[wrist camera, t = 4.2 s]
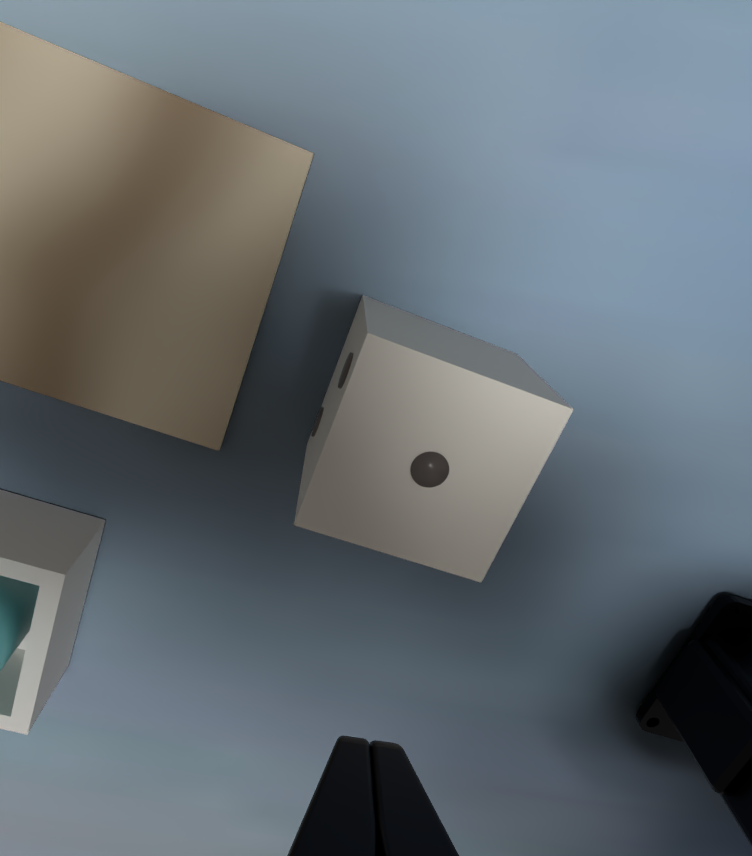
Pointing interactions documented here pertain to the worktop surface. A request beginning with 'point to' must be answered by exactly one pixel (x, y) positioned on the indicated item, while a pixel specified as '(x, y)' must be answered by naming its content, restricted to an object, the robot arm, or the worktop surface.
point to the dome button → (15, 614)
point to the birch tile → (133, 241)
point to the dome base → (43, 597)
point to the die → (426, 442)
